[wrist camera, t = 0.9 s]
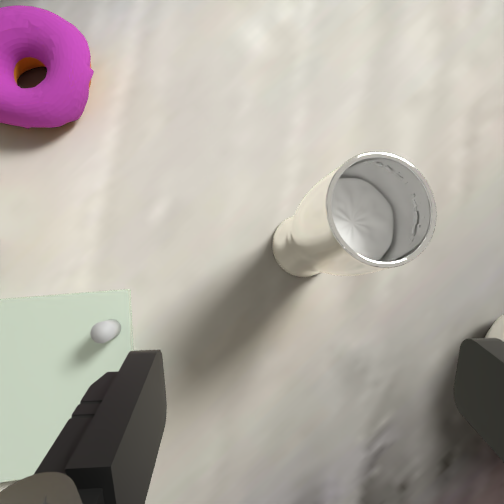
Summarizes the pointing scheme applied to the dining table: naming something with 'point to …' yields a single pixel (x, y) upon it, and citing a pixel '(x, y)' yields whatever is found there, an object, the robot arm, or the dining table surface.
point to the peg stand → (53, 366)
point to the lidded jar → (497, 329)
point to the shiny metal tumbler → (359, 219)
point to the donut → (42, 55)
